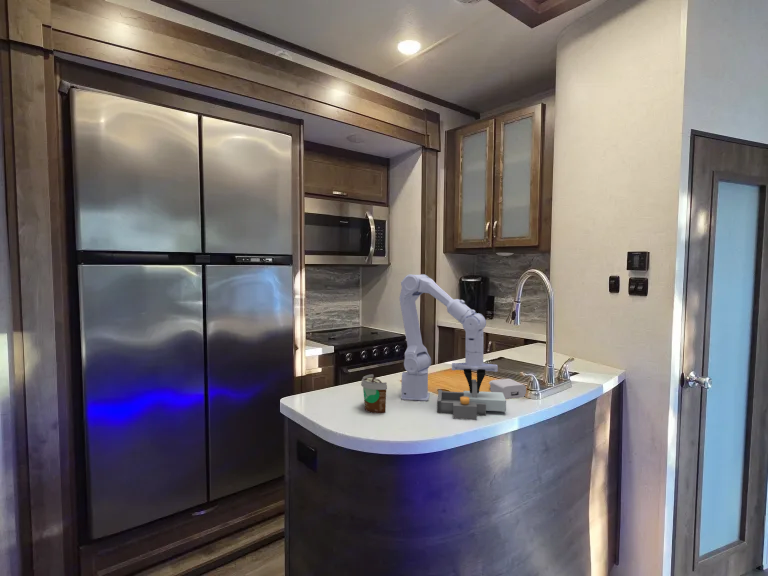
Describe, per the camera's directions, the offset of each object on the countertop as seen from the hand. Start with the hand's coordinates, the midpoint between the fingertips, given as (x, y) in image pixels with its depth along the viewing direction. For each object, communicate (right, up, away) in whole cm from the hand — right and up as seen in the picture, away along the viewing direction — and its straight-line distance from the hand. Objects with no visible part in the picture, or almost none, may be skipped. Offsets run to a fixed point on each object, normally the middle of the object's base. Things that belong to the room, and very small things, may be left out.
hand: (474, 392), depth 128 cm
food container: (-34, -6, 0) cm, 34 cm away
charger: (+15, -5, +18) cm, 24 cm away
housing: (-5, -5, -1) cm, 7 cm away
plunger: (-5, -1, -7) cm, 9 cm away
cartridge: (+3, -4, 0) cm, 5 cm away
